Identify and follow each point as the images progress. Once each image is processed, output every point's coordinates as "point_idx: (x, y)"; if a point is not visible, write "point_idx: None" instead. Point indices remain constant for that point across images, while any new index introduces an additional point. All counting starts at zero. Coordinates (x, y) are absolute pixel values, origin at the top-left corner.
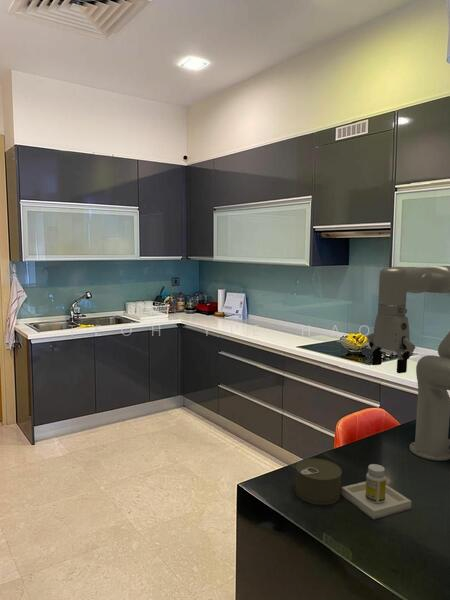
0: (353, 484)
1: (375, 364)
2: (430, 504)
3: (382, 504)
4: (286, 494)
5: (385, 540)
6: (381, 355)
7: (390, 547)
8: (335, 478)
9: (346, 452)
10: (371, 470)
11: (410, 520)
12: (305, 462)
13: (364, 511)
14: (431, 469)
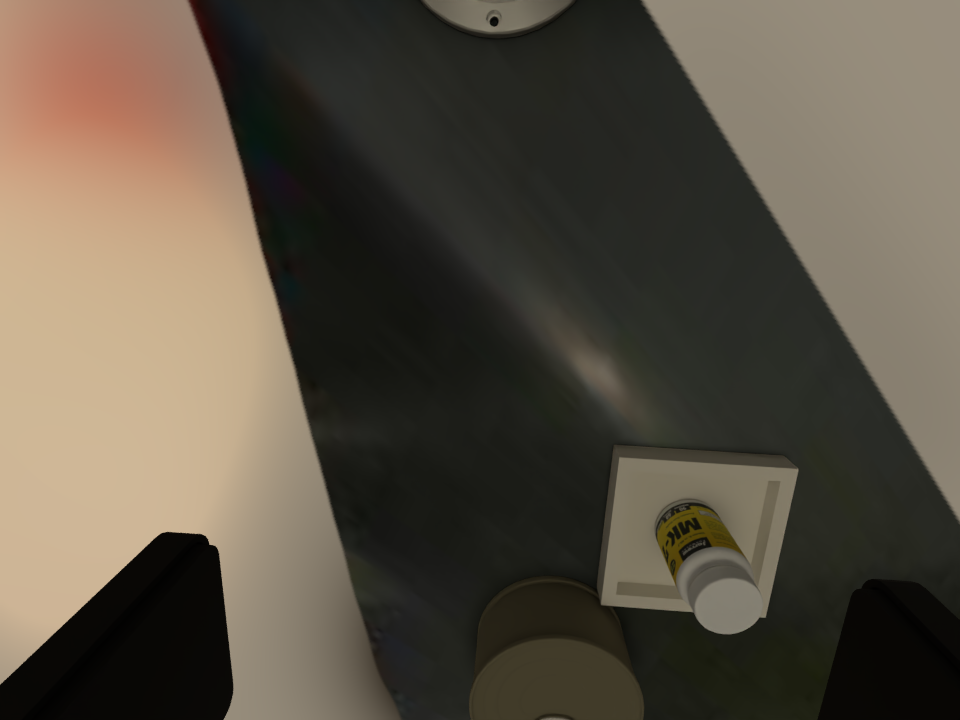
0: (607, 559)
1: (225, 680)
2: (807, 369)
3: None
4: None
5: (838, 638)
6: (67, 718)
7: None
8: (643, 706)
9: (333, 341)
10: (727, 631)
11: (823, 507)
12: (487, 711)
13: None
14: (631, 103)
